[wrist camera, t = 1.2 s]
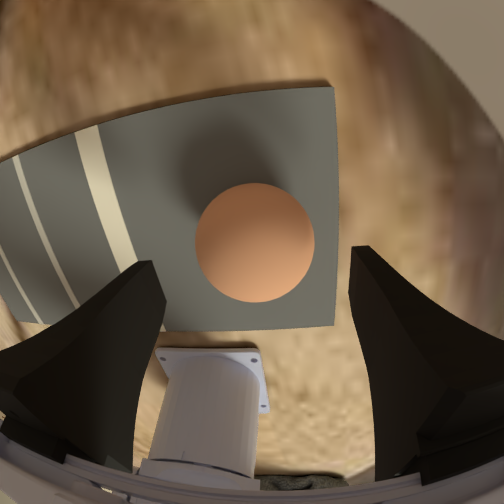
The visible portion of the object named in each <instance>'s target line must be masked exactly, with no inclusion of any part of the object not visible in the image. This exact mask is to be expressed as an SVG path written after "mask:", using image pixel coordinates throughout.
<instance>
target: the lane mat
mask: <svg viewBox="0 0 504 504" xmlns="http://www.w3.org/2000/svg"><path fill="white" fill-rule="evenodd" d="M247 183H262V184H268V185H272V186H275V187H277V188H280V189H282V190H284V191H286V192H287V193H289V194H290V195H291V196H293V197H294V198H295V199H296V200H297V201H298V202H299V203H300V204H301V206H302V207H303V208H304V210H305V211H306V213H307V215H308V217H309V219H310V221H311V224H312V228H313V231H314V242H315V244H314V253H313V258H312V261H311V264H310V267H309V269H308V271H307V273H306V274H305V276H304V277H303V279H302V280H301V281H300V282H299V283H298V284H297V285H296V286H295V287H294V288H293V289H292V290H291V291H289V292H288V293H286V294H284V295H283V296H281V297H279V298H276V299H273V300H270V301H265V302H244V301H240V300H236V299H233V298H231V297H229V296H227V295H225V294H223V293H222V292H220V291H219V290H217V289H216V288H215V287H214V286H213V285H212V284H211V283H210V282H209V281H208V279H207V278H206V277H205V275H204V274H203V272H202V270H201V268H200V266H199V263H198V260H197V256H196V250H195V235H196V229H197V226H198V223H199V220H200V218H201V216H202V214H203V212H204V211H205V209H206V208H207V206H208V205H209V204H210V203H211V201H212V200H213V199H215V198H216V197H217V196H218V195H220V194H221V193H222V192H224V191H226V190H227V189H230V188H232V187H234V186H238V185H241V184H247ZM338 236H339V174H338V143H337V123H336V107H335V94H334V87H306V88H289V89H276V90H265V91H255V92H247V93H239V94H231V95H224V96H218V97H211V98H205V99H200V100H194V101H189V102H184V103H179V104H174V105H169V106H164V107H160V108H156V109H151V110H147V111H143V112H139V113H135V114H132V115H128V116H124V117H121V118H117V119H114V120H110V121H107V122H104V123H100V124H97V125H94V126H91V127H88V128H85V129H82V130H79V131H76V132H73V133H70V134H68V135H65V136H62V137H59V138H57V139H54V140H52V141H49V142H46V143H44V144H41V145H39V146H37V147H34V148H32V149H29V150H27V151H25V152H22V153H20V154H18V155H16V156H14V157H11V158H9V159H7V160H5V161H3V162H1V163H0V294H1V296H2V297H3V299H4V301H5V302H6V304H7V306H8V307H9V309H10V310H11V312H12V314H13V315H14V317H15V318H16V320H17V321H22V322H30V323H39V324H49V325H54V324H55V323H57V322H58V321H60V320H61V319H63V318H64V317H66V316H67V315H69V314H70V313H72V312H73V311H74V310H76V309H77V308H78V307H80V306H81V305H82V304H84V303H85V302H86V301H87V300H89V299H90V298H91V297H92V296H94V295H95V294H96V293H98V292H99V291H100V290H101V289H102V288H104V287H105V286H106V285H107V284H108V283H110V282H111V281H112V280H113V279H115V278H116V277H117V276H118V275H119V274H121V273H122V272H123V271H124V270H126V269H127V268H128V267H130V266H131V265H132V264H134V263H135V262H137V261H145V260H152V262H153V265H154V268H155V270H156V273H157V276H158V279H159V282H160V284H161V287H162V290H163V292H164V295H165V298H166V300H167V304H166V309H165V314H164V318H163V323H162V326H161V329H160V332H166V331H249V330H274V329H292V328H308V327H321V326H334V319H335V305H336V289H337V268H338Z"/></svg>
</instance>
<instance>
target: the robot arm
mask: <svg viewBox="0 0 504 504" xmlns="http://www.w3.org/2000/svg"><path fill="white" fill-rule="evenodd" d="M348 294H349V300H350V306H351V312H352V317H353V321H354V324H355V328H356V331H357V335H358V338H359V342H360V345H361V349H362V352H363V356H364V360H365V363H366V367H367V372H368V377H369V383H370V391H371V399H372V409H373V420H374V436H375V482H372V483H366V484H359V485H352V486H345V487H336V488H326V489H313V490H293V491H263V490H260V480H258V479H254V468H255V463H256V449H257V435H258V420H259V413H269V412H270V404H269V398H268V392H267V387H266V381H265V375H264V369H263V363H262V358H261V352H260V350H258V349H256V348H226V349H204V348H162V347H159V348H156V351H155V355H156V357H157V359H158V361H159V362H160V364H161V366H162V368H163V370H164V371H165V373H166V375H167V377H168V379H169V382H168V385H167V389H166V392H165V396H164V399H163V403H162V407H161V410H160V414H159V418H158V421H157V425H156V429H155V433H154V436H153V440H152V444H151V448H150V452H149V456H148V459H146V458H143V459H142V462H141V466H140V468H139V467H135V466H133V441H134V430H135V420H136V414H137V407H138V401H139V396H140V391H141V386H142V381H143V378H144V374H145V371H146V368H147V365H148V362H149V360H150V357H151V354H152V351H153V348H154V346H155V343H156V340H157V337H158V334H159V332H160V329H161V326H162V323H163V318H164V314H165V309H166V304H167V300H166V298H165V295H164V292H163V290H162V287H161V284H160V282H159V279H158V276H157V273H156V270H155V268H154V265H153V262H152V260H145V261H137V262H135V263H134V264H132V265H131V266H130V267H128V268H127V269H126V270H124V271H123V272H122V273H121V274H119V275H118V276H117V277H116V278H115V279H113V280H112V281H111V282H110V283H108V284H107V285H106V286H105V287H104V288H102V289H101V290H100V291H99V292H98V293H96V294H95V295H94V296H92V297H91V298H90V299H89V300H87V301H86V302H85V303H84V304H82V305H81V306H80V307H78V308H77V309H76V310H74V311H73V312H72V313H70V314H69V315H67V316H66V317H64V318H63V319H61V320H60V321H58V322H57V323H55V324H54V325H52V326H50V327H48V328H47V329H45V330H43V331H42V332H40V333H38V334H36V335H35V336H33V337H31V338H29V339H27V340H25V341H23V342H20V343H18V344H16V345H14V346H11V347H9V348H6V349H4V350H1V351H0V411H1V412H3V413H4V414H5V415H6V417H5V419H4V421H3V420H1V419H0V490H1V491H2V492H4V493H5V494H6V495H7V496H9V497H10V498H11V499H12V500H14V501H15V502H16V503H17V504H504V340H501V339H499V338H496V337H494V336H492V335H490V334H488V333H486V332H484V331H482V330H480V329H478V328H476V327H474V326H472V325H470V324H468V323H467V322H465V321H463V320H462V319H460V318H458V317H456V316H455V315H453V314H452V313H450V312H448V311H447V310H445V309H444V308H442V307H441V306H440V305H438V304H437V303H435V302H434V301H432V300H431V299H430V298H428V297H427V296H426V295H424V294H423V293H422V292H421V291H419V290H418V289H417V288H416V287H414V286H413V285H412V284H411V283H409V282H408V281H407V280H406V279H405V278H404V277H403V276H401V275H400V274H399V273H398V272H397V271H396V270H395V269H394V268H392V267H391V266H390V265H389V264H388V263H387V262H386V261H385V260H384V259H383V258H382V257H381V256H380V255H379V254H377V253H376V252H375V251H374V250H373V249H372V248H371V247H370V246H369V245H367V246H353V247H352V249H351V265H350V278H349V290H348ZM101 487H102V488H106V489H108V490H111V491H112V493H109V492H107V491H104V490H102V488H101Z"/></svg>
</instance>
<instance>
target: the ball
mask: <svg viewBox="0 0 504 504" xmlns="http://www.w3.org/2000/svg"><path fill="white" fill-rule="evenodd" d="M314 244H315V242H314V231H313V228H312V224H311V221H310V219H309V217H308V215H307V213H306V211H305V210H304V208H303V207H302V206H301V204H300V203H299V202H298V201H297V200H296V199H295V198H294V197H293V196H291V195H290V194H289V193H287V192H286V191H284V190H282V189H280V188H277V187H275V186H272V185H268V184H262V183H247V184H241V185H238V186H234V187H232V188H230V189H227V190H226V191H224V192H222V193H221V194H220V195H218V196H217V197H216V198H215V199H213V200H212V201H211V203H210V204H209V205H208V206H207V208H206V209H205V211H204V212H203V214H202V216H201V218H200V220H199V223H198V226H197V229H196V235H195V250H196V256H197V260H198V263H199V266H200V268H201V270H202V272H203V274H204V275H205V277H206V278H207V279H208V281H209V282H210V283H211V284H212V285H213V286H214V287H215V288H216V289H217V290H219V291H220V292H222V293H223V294H225V295H227V296H229V297H231V298H233V299H236V300H240V301H244V302H265V301H270V300H273V299H276V298H279V297H281V296H283V295H284V294H286V293H288V292H289V291H291V290H292V289H293V288H294V287H295V286H296V285H297V284H298V283H299V282H300V281H301V280H302V279H303V277H304V276H305V274H306V273H307V271H308V269H309V267H310V264H311V261H312V258H313V253H314Z"/></svg>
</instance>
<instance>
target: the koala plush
mask: <svg viewBox="0 0 504 504" xmlns="http://www.w3.org/2000/svg"><path fill="white" fill-rule="evenodd" d="M254 479H258V480H260V490H263V491H293V490H313V489H326V488H336V487H345V486H349V485H348V483H347V482H346V481H344V480H343V479H341V478H335V479H334V478H332V477H328V476H319V475H318V476H317V475H316V476H315V475H311V476H305V477H292V476H282V475H281V476H273V475H272V476H271V475H267V476H257V477H254Z"/></svg>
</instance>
